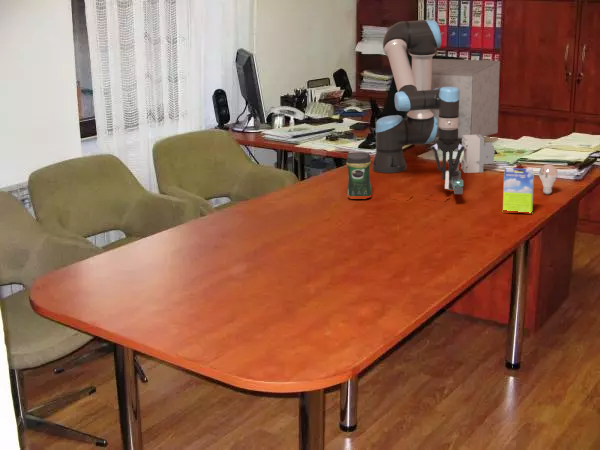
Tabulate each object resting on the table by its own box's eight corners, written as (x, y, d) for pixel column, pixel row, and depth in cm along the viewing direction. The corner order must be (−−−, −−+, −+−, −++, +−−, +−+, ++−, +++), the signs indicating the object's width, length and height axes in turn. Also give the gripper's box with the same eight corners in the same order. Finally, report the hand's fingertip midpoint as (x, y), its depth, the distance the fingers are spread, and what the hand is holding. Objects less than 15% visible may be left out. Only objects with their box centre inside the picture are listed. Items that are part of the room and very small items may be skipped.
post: (441, 190, 333) (442, 161, 329) (448, 185, 339) (448, 157, 335) (458, 192, 329) (458, 163, 326) (464, 187, 335) (465, 159, 331)
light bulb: (557, 192, 323) (559, 163, 319) (555, 197, 317) (556, 167, 313) (539, 191, 325) (541, 161, 322) (536, 196, 320) (538, 166, 316)
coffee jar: (372, 195, 331) (371, 150, 325) (370, 201, 324) (369, 154, 318) (348, 195, 333) (347, 150, 327) (346, 200, 326) (344, 154, 320)
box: (532, 212, 301) (534, 166, 296) (532, 215, 298) (534, 169, 292) (503, 210, 305) (504, 165, 299) (502, 214, 301) (503, 168, 295)
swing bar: (447, 180, 330) (447, 167, 328) (460, 180, 330) (460, 166, 328) (451, 196, 310) (452, 181, 308) (465, 195, 309) (465, 181, 307)
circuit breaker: (497, 171, 356) (498, 137, 352) (464, 172, 357) (464, 138, 352) (493, 167, 363) (494, 133, 359) (461, 168, 364) (461, 135, 359)
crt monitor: (498, 141, 409) (500, 60, 396) (470, 158, 379) (472, 71, 367) (433, 136, 427) (433, 58, 414) (401, 152, 397) (400, 68, 385)
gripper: (431, 129, 313) (430, 190, 320) (466, 129, 311) (464, 190, 318) (431, 126, 320) (429, 185, 327) (464, 126, 318) (462, 185, 325)
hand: (446, 187), depth 322 cm, fingers closed
